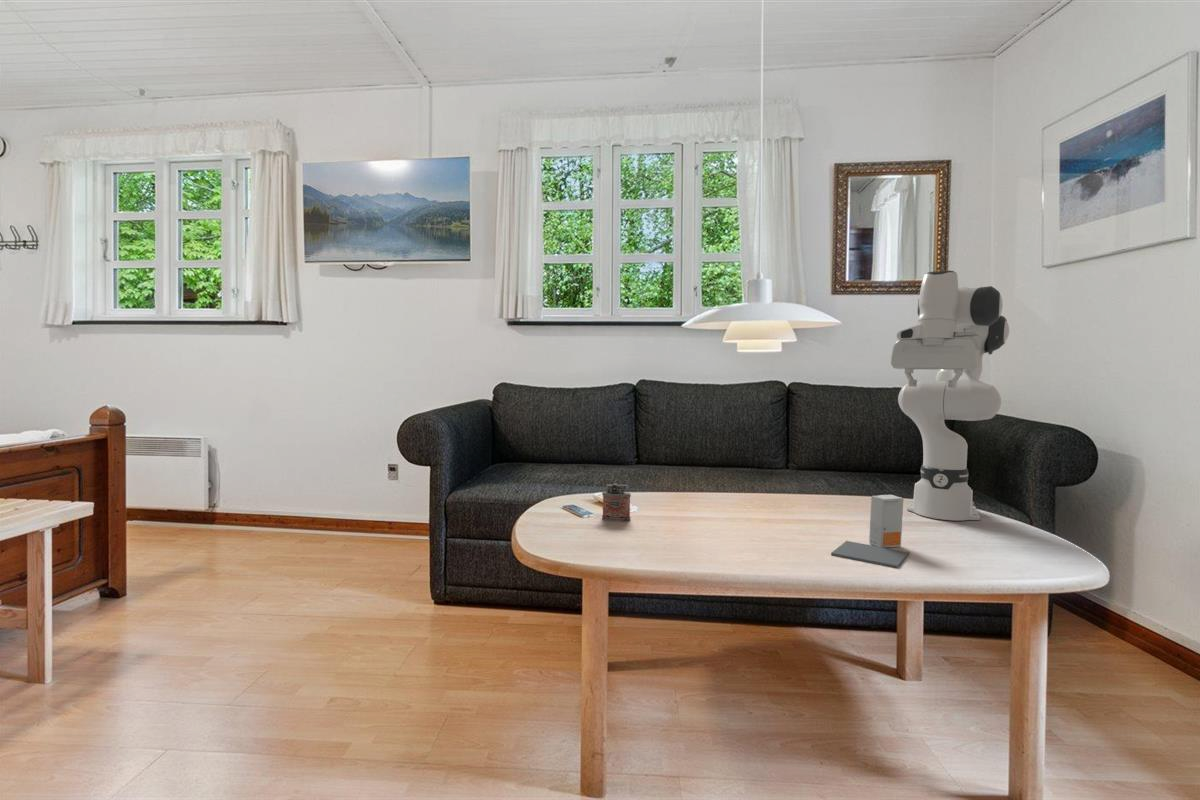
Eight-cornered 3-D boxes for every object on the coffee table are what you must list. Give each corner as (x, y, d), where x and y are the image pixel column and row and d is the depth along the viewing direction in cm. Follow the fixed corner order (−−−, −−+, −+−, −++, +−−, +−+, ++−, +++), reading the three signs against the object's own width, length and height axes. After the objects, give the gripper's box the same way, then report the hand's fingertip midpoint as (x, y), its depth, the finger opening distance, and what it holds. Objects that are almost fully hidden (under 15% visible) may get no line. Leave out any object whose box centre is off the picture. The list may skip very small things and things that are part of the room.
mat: (846, 542, 150) (846, 540, 150) (909, 554, 142) (909, 552, 141) (831, 554, 141) (831, 552, 141) (897, 567, 132) (897, 565, 132)
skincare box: (881, 548, 145) (882, 499, 145) (868, 543, 150) (870, 495, 149) (902, 546, 147) (904, 497, 146) (889, 541, 151) (891, 494, 150)
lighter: (600, 519, 170) (600, 484, 169) (604, 516, 173) (604, 482, 173) (628, 522, 168) (629, 486, 167) (631, 519, 171) (632, 483, 170)
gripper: (986, 333, 150) (981, 389, 150) (900, 336, 165) (896, 386, 165) (977, 329, 146) (973, 387, 146) (890, 332, 161) (886, 384, 161)
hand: (931, 387), depth 156 cm, fingers open, 8 cm apart
